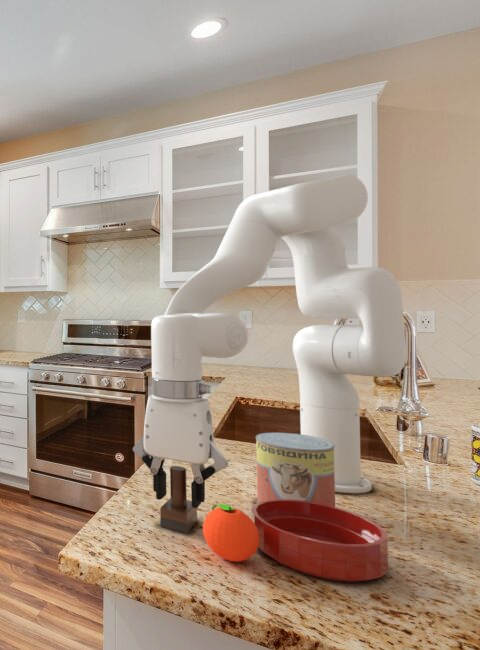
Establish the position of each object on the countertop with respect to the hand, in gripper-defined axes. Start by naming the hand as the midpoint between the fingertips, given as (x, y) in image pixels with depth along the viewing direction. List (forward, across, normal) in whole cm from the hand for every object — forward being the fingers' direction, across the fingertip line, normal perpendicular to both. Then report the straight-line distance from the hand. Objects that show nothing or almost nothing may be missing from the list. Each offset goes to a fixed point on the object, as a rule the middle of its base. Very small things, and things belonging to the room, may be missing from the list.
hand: (178, 500), depth 77 cm
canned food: (+4, -14, -18) cm, 23 cm away
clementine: (+4, -9, +7) cm, 12 cm away
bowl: (+4, -18, -1) cm, 18 cm away
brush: (+4, 0, 0) cm, 4 cm away
